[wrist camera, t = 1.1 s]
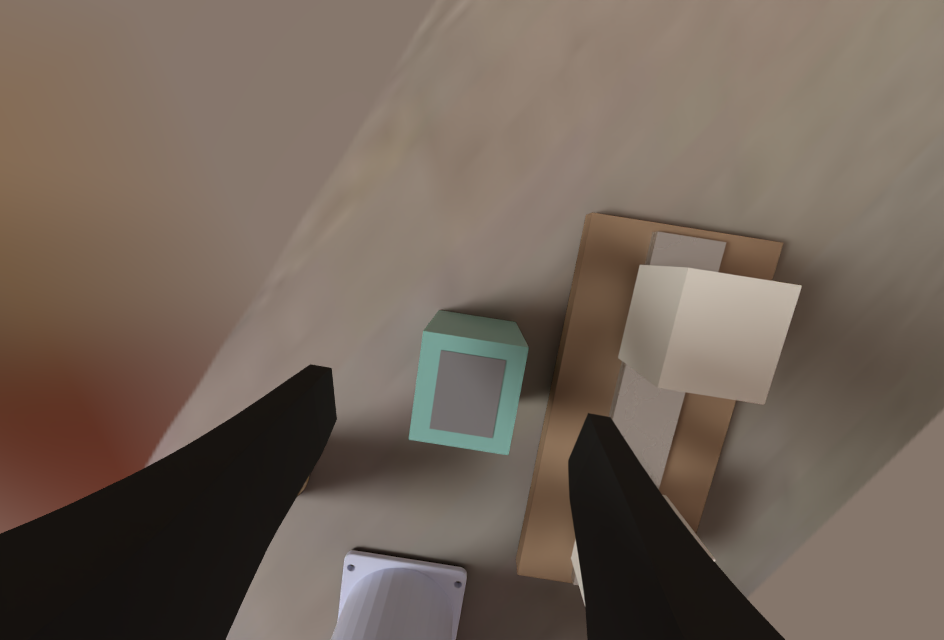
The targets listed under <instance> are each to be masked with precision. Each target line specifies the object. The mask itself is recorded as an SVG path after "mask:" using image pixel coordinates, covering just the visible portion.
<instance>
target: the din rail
mask: <svg viewBox="0 0 944 640" xmlns="http://www.w3.org/2000/svg"><path fill="white" fill-rule="evenodd" d="M725 246H726V242H721V241H715V240H708V239H702V238H696V237H689V236H683V235H677V234H670V233H664V232H652V236H651V240H650V244H649V248H648V253H647V257H646V261H645V265H653V266H670V267H686V268H694V269H700V270H707V271H713V272H718V271H719V268H720V264H721V260H722V257H723V253H724V249H725ZM684 396H685V392H681V391H674V390H668V389H662V388H657V387H656V386H654V385H653V384H652V383H650V382H649V381H648V380H646V379H645V378H644V377H642V376H641V375H640V374H639V373H637V372H636V371H635V370H633V369H632V368H631V367H629V366H628V365H627V364H625V363H624V362H623V361H622V362H621V367H620V371H619V375H618V379H617V383H616V388H615V392H614V396H613V400H612V405H611V409H610V413H609V417H611V419H612V420H613V422H614V423H615V425H616V426H617V428H618V429H619V431H620V432H621V434H622V435H623V437H624V439H625V440H626V442H627V443H628V445H629V446H630V448H631V449H632V451H633V452H634V454H635V455H636V457H637V459H638V460H639V462H640V463H641V465H642V466H643V468H644V469H645V471H646V472H647V473H648V475H649V476H650V478H651V479H652V481H653V482H654V484H655V485H656V486H657V488H658V489H659V487H660V484H661V480H662V476H663V473H664V469H665V465H666V462H667V458H668V454H669V451H670V447H671V443H672V440H673V436H674V432H675V429H676V425H677V421H678V418H679V414H680V410H681V407H682V403H683V399H684ZM571 578H572V582H573V585H579V584H578V581H577V577H576V574H575V571H574V567H573V569H572V573H571Z"/></svg>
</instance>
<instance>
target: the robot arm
mask: <svg viewBox="0 0 944 640" xmlns="http://www.w3.org/2000/svg"><path fill="white" fill-rule="evenodd" d="M336 420H337V416H336V407H335V397H334V387H333V377H332V368H328V367H322V366H316V365H311V364H310V365H309V366H307V367H306V368H304V369H303V370H301V371H300V372H299V373H297V374H296V375H294V376H293V377H291V378H290V379H288V380H287V381H285V382H284V383H283V384H281V385H280V386H278V387H277V388H275V389H274V390H272V391H271V392H270V393H268V394H267V395H265V396H264V397H262V398H261V399H259V400H258V401H256V402H255V403H253V404H252V405H250V406H249V407H247V408H246V409H244V410H243V411H241V412H240V413H238V414H237V415H235V416H234V417H232V418H231V419H229V420H227V421H226V422H224V423H222V424H221V425H219V426H218V427H216V428H214V429H213V430H211V431H210V432H208V433H206V434H205V435H203V436H201V437H200V438H198V439H197V440H195V441H193V442H191V443H190V444H188V445H186V446H185V447H183V448H181V449H179V450H177V451H176V452H174V453H172V454H170V455H168V456H167V457H165V458H163V459H161V460H159V461H157V462H155V463H153V464H151V465H150V466H148V467H146V468H144V469H142V470H140V471H138V472H136V473H134V474H132V475H130V476H128V477H126V478H124V479H122V480H120V481H118V482H116V483H113V484H112V485H109V486H107V487H105V488H103V489H101V490H99V491H97V492H95V493H92V494H91V495H88V496H86V497H84V498H82V499H80V500H78V501H76V502H74V503H71V504H69V505H67V506H65V507H63V508H60V509H58V510H55V511H53V512H51V513H49V514H46V515H44V516H42V517H39V518H37V519H35V520H33V521H30V522H28V523H25V524H23V525H20V526H18V527H16V528H13V529H11V530H8V531H6V532H4V533H1V534H0V640H226V637H227V635H228V633H229V630H230V628H231V626H232V624H233V622H234V619H235V617H236V615H237V613H238V610H239V608H240V606H241V604H242V602H243V599H244V597H245V595H246V593H247V590H248V588H249V586H250V584H251V582H252V580H253V578H254V576H255V574H256V571H257V569H258V567H259V565H260V563H261V561H262V559H263V557H264V555H265V552H266V550H267V548H268V546H269V545H270V543H271V541H272V539H273V537H274V535H275V533H276V531H277V530H278V528H279V526H280V525H281V523H282V521H283V519H284V518H285V516H286V514H287V513H288V511H289V509H290V507H291V506H292V504H293V502H294V501H295V499H296V497H297V496H298V494H299V492H300V490H301V489H302V487H303V485H304V484H305V482H306V480H307V478H308V477H309V475H310V473H311V472H312V470H313V468H314V466H315V465H316V463H317V461H318V459H319V458H320V456H321V454H322V452H323V450H324V448H325V446H326V443H327V441H328V439H329V437H330V434H331V432H332V429H333V427H334V425H335V422H336ZM568 477H569V498H570V505H571V512H572V519H573V526H574V532H575V539H576V545H577V552H578V558H579V564H580V571H581V577H582V584H583V591H584V600H585V608H586V622H587V637H588V640H785V639H784V638H783V637H782V636H781V635H780V634H779V633H778V632H777V631H776V630H775V628H774V627H773V626H772V625H771V624H770V623H769V622H768V621H767V620H766V619H765V618H764V617H763V616H762V615H761V614H760V613H759V612H758V610H757V609H756V608H755V607H754V606H753V605H752V604H751V603H750V602H749V601H748V600H747V599H746V597H745V596H744V595H743V594H742V593H741V592H740V591H739V590H738V589H737V587H736V586H735V585H734V584H733V583H732V582H731V581H730V579H729V578H728V577H727V576H726V575H725V574H724V572H723V571H722V570H721V569H720V568H719V567H718V565H717V564H716V563H715V562H714V561H713V560H712V558H711V557H710V556H709V555H708V554H707V552H706V551H705V550H704V549H703V548H702V546H701V545H700V544H699V543H698V541H697V540H696V539H695V538H694V536H693V535H692V534H691V533H690V531H689V530H688V529H687V527H686V526H685V525H684V523H683V522H682V521H681V519H680V518H679V517H678V516H677V514H676V513H675V512H674V510H673V509H672V508H671V506H670V505H669V503H668V502H667V501H666V499H665V498H664V496H663V495H662V494H661V492H660V491H659V489H658V488H657V486H656V485H655V484H654V482H653V481H652V479H651V478H650V476H649V475H648V473H647V472H646V471H645V469H644V468H643V466H642V465H641V463H640V462H639V460H638V459H637V457H636V455H635V454H634V452H633V451H632V449H631V448H630V446H629V445H628V443H627V442H626V440H625V439H624V437H623V435H622V434H621V432H620V431H619V429H618V428H617V426H616V425H615V423H614V422H613V420H612V419H611V417H608V416H602V415H596V414H591V413H588V414H587V417H586V419H585V421H584V424H583V426H582V429H581V431H580V433H579V436H578V438H577V441H576V443H575V445H574V448H573V450H572V452H571V455H570V457H569V460H568ZM350 564H352V565H354V566H351V565H350ZM466 580H467V572H466V570H465V569H464V568H462V567H457V566H451V565H444V564H438V563H432V562H425V561H419V560H413V559H406V558H400V557H393V556H387V555H381V554H374V553H368V552H362V551H355V550H351V551H349V552H348V553H347V554H346V556H345V559H344V568H343V577H342V586H341V595H340V604H339V614H338V622H337V625H336V627H335V630H334V633H333V635H332V638H331V640H456V636H457V630H458V625H459V619H460V614H461V608H462V602H463V597H464V591H465V586H466ZM456 581H459V582H460V583H457V582H456Z"/></svg>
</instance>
